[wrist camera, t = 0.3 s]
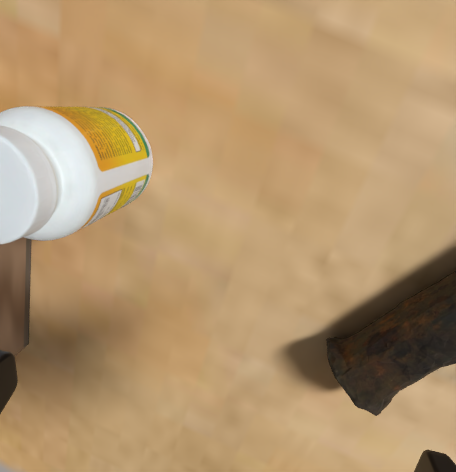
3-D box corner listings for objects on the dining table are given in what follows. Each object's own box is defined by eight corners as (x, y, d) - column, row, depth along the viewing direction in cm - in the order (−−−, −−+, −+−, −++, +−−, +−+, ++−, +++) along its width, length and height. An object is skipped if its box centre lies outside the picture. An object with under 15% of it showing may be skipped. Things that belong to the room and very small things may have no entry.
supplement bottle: (153, 211, 23) (58, 277, 14) (65, 198, 24) (-79, 253, 15) (158, 112, 22) (53, 116, 13) (63, 100, 22) (-101, 97, 13)
